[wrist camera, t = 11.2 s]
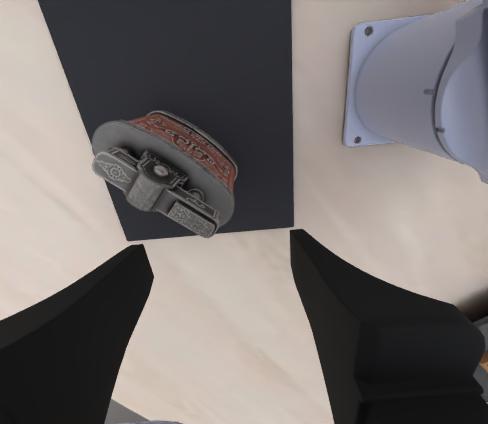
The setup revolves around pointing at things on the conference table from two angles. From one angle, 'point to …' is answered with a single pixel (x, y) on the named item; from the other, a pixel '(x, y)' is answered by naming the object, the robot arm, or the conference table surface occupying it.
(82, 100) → the desk mat
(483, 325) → the serving tray
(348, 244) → the conference table surface
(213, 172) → the lighter
